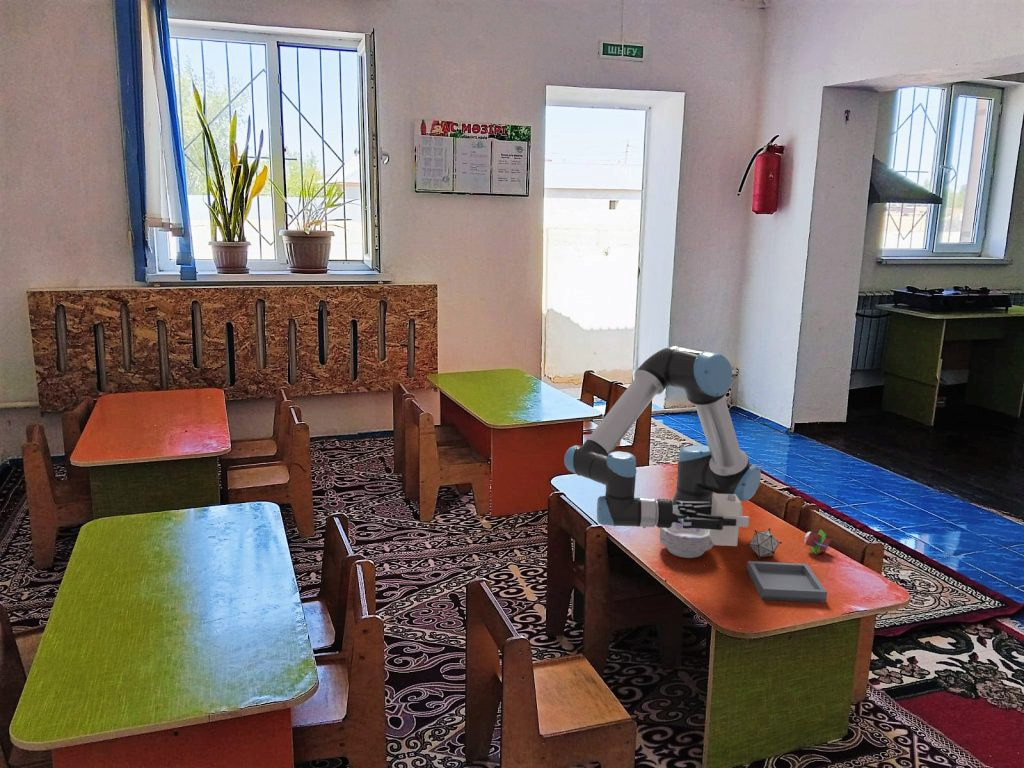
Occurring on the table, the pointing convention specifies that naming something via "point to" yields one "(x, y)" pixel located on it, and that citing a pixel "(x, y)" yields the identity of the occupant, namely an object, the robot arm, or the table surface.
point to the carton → (720, 507)
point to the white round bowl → (685, 540)
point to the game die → (764, 543)
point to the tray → (786, 582)
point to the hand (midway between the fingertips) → (744, 516)
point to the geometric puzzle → (817, 541)
